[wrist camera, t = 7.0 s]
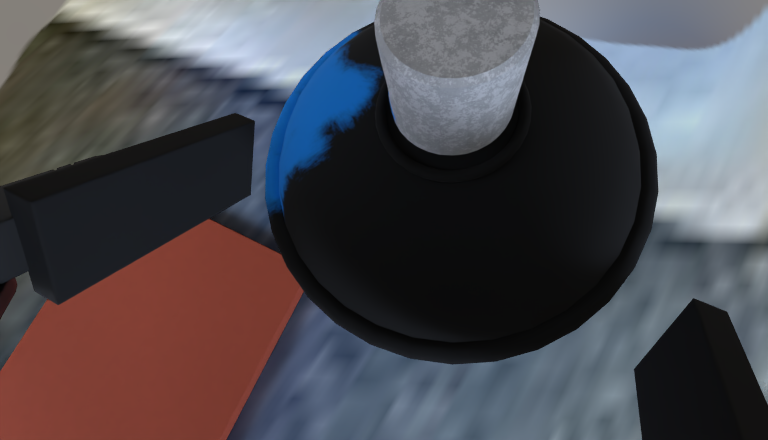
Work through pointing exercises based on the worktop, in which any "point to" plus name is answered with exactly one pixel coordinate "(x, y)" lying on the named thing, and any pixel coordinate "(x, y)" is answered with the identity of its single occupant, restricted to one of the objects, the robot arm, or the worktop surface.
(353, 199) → the aerosol can
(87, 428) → the pad
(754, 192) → the worktop surface
